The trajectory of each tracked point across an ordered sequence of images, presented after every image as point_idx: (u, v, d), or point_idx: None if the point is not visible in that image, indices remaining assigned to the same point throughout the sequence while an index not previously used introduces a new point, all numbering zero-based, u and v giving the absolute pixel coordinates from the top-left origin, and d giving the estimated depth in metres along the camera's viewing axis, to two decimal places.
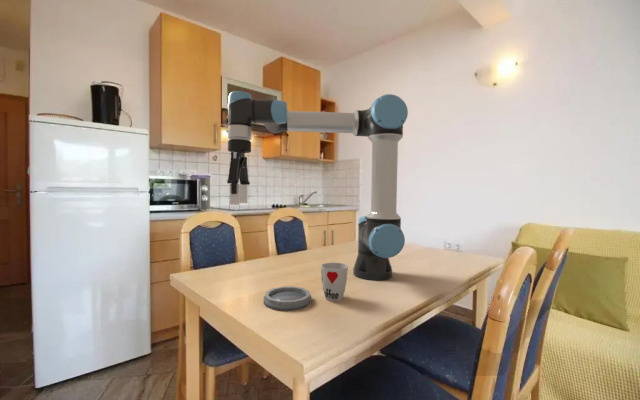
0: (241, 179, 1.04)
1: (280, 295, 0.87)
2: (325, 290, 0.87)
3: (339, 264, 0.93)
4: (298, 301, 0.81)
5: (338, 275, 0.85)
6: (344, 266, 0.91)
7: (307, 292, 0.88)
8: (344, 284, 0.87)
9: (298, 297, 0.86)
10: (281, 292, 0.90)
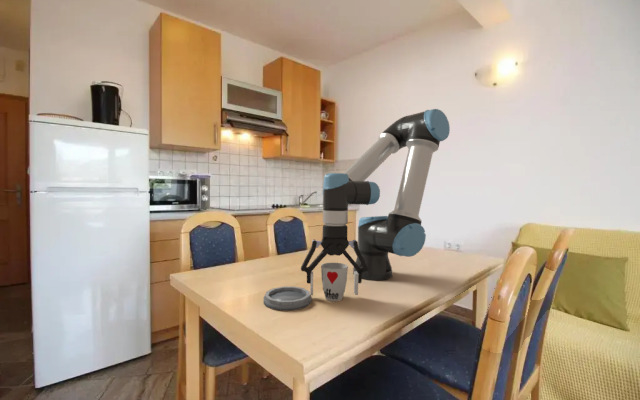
0: None
1: (280, 295, 0.87)
2: (325, 290, 0.87)
3: (339, 264, 0.93)
4: (298, 301, 0.81)
5: (338, 275, 0.85)
6: (344, 266, 0.91)
7: (307, 292, 0.88)
8: (344, 284, 0.87)
9: (298, 297, 0.86)
10: (281, 292, 0.90)
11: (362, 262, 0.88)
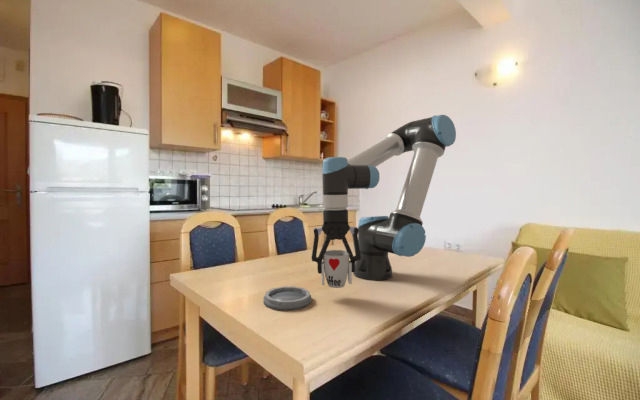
0: None
1: (280, 295, 0.87)
2: (327, 277, 0.88)
3: (340, 252, 0.93)
4: (298, 301, 0.81)
5: (340, 262, 0.86)
6: (346, 253, 0.91)
7: (307, 292, 0.88)
8: (346, 271, 0.88)
9: (298, 297, 0.86)
10: (281, 292, 0.90)
11: (357, 250, 0.89)
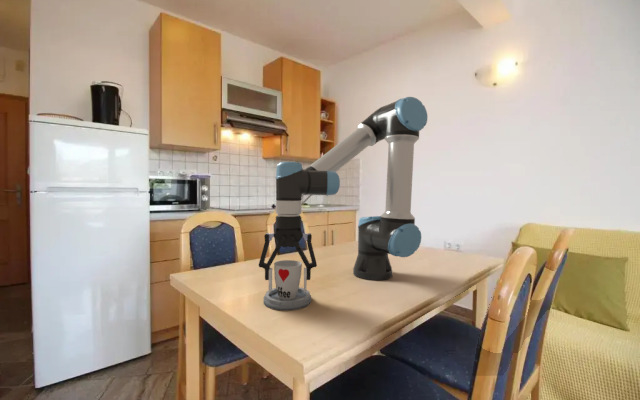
0: None
1: None
2: (277, 288, 0.84)
3: (294, 262, 0.90)
4: (298, 301, 0.81)
5: (290, 273, 0.83)
6: (299, 264, 0.88)
7: (307, 292, 0.88)
8: (297, 282, 0.84)
9: (298, 297, 0.86)
10: None
11: (312, 257, 0.85)
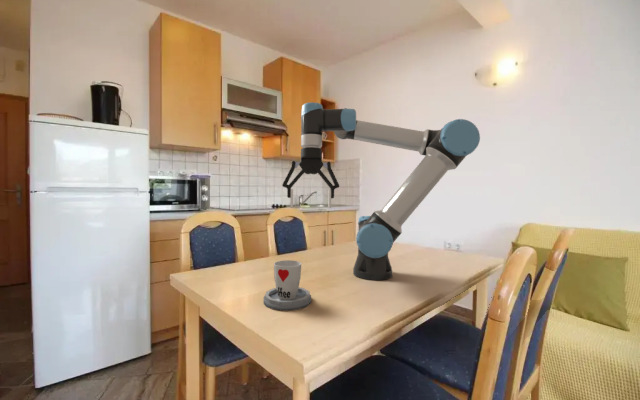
0: (327, 184, 1.06)
1: None
2: (277, 288, 0.84)
3: (294, 262, 0.90)
4: (298, 301, 0.81)
5: (289, 273, 0.83)
6: (299, 264, 0.88)
7: (307, 292, 0.88)
8: (296, 282, 0.84)
9: (298, 297, 0.86)
10: None
11: (334, 180, 1.04)
